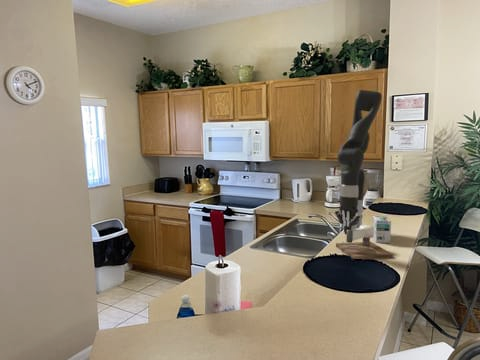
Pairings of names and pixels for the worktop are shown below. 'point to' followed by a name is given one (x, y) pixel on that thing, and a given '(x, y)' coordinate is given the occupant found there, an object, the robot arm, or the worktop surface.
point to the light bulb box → (381, 229)
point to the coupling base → (363, 250)
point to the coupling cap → (360, 233)
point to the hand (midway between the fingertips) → (347, 234)
